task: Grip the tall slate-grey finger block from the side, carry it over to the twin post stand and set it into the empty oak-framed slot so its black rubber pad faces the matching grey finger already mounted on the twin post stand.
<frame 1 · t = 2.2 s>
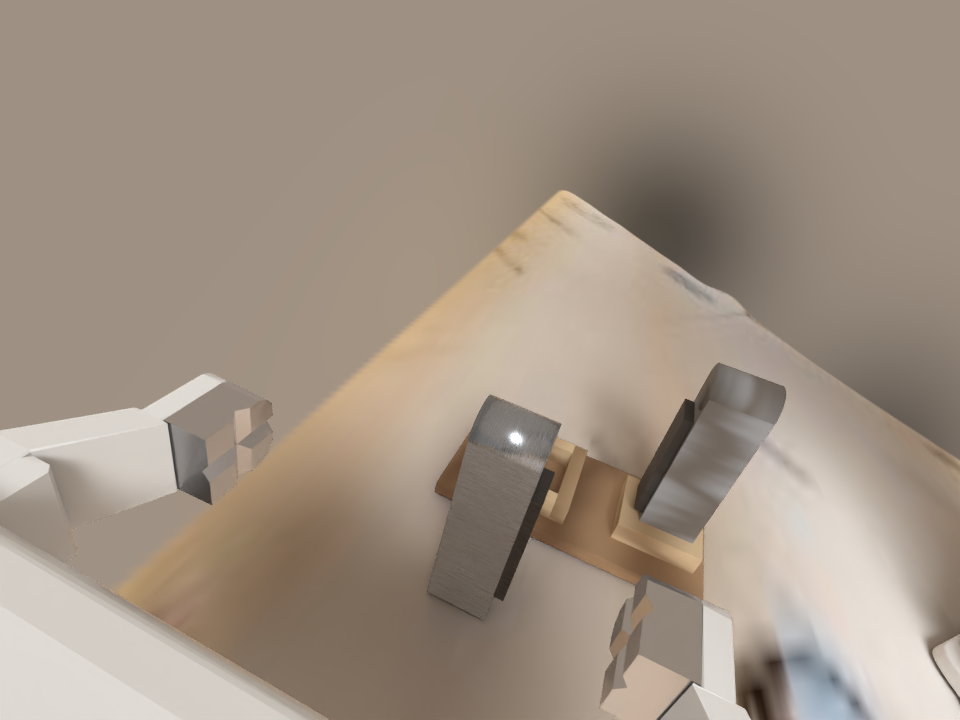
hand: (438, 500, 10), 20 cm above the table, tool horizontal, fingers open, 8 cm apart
twin post stand: (519, 479, 39), on the table
finger: (469, 587, 31), on the table
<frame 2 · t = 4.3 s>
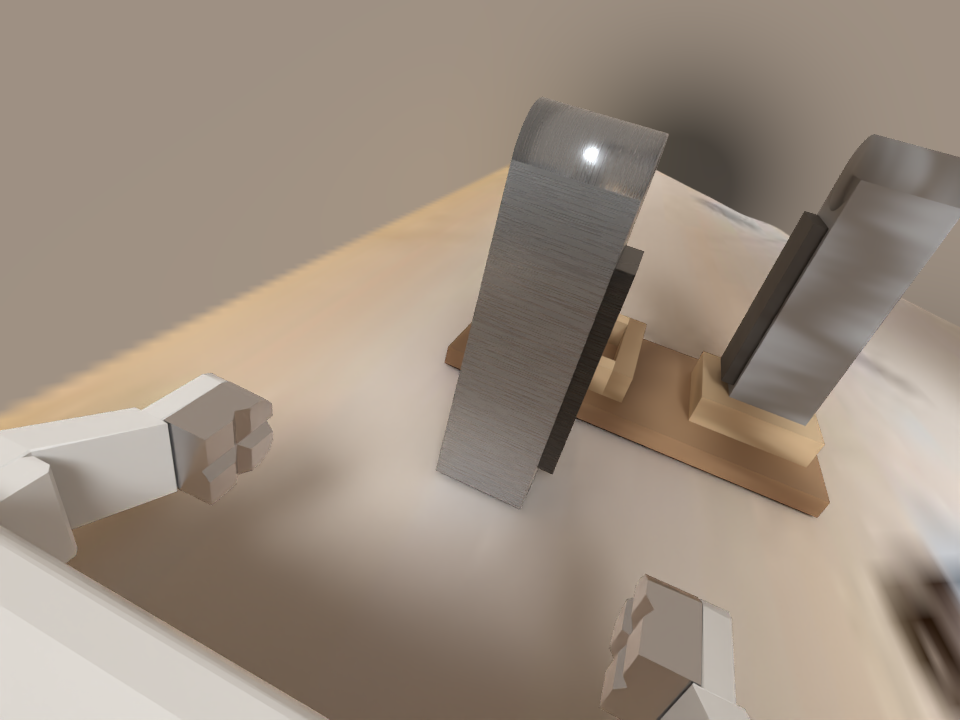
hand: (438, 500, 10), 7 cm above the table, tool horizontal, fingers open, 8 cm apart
twin post stand: (556, 359, 30), on the table
finger: (497, 468, 21), on the table
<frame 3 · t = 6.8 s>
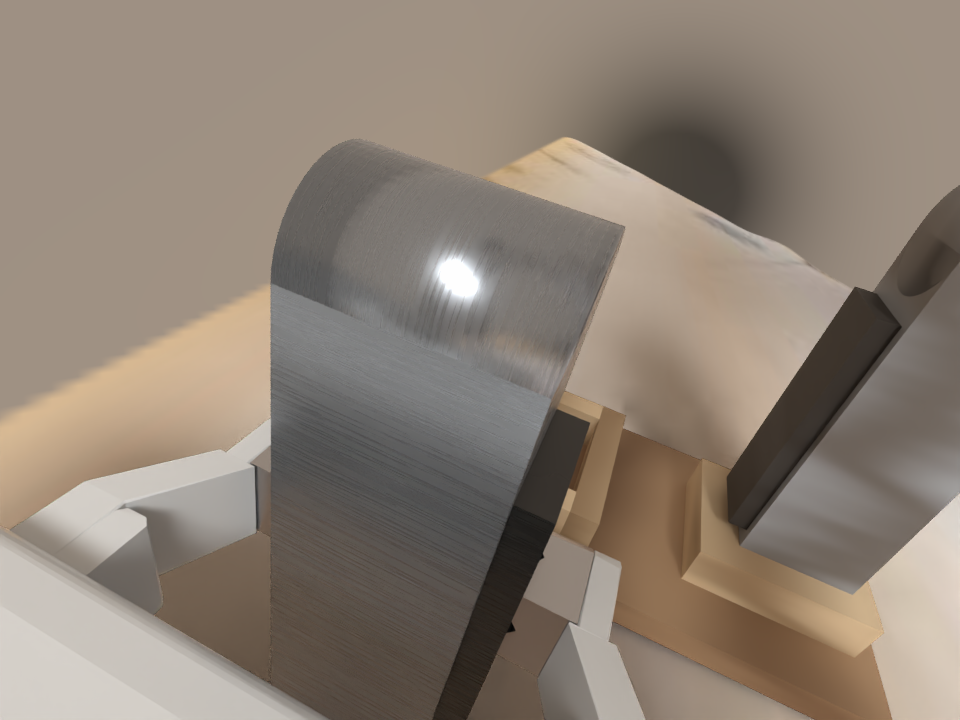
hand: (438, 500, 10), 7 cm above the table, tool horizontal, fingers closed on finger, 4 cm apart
twin post stand: (503, 467, 22), on the table
finger: (377, 704, 14), on the table, touching gripper
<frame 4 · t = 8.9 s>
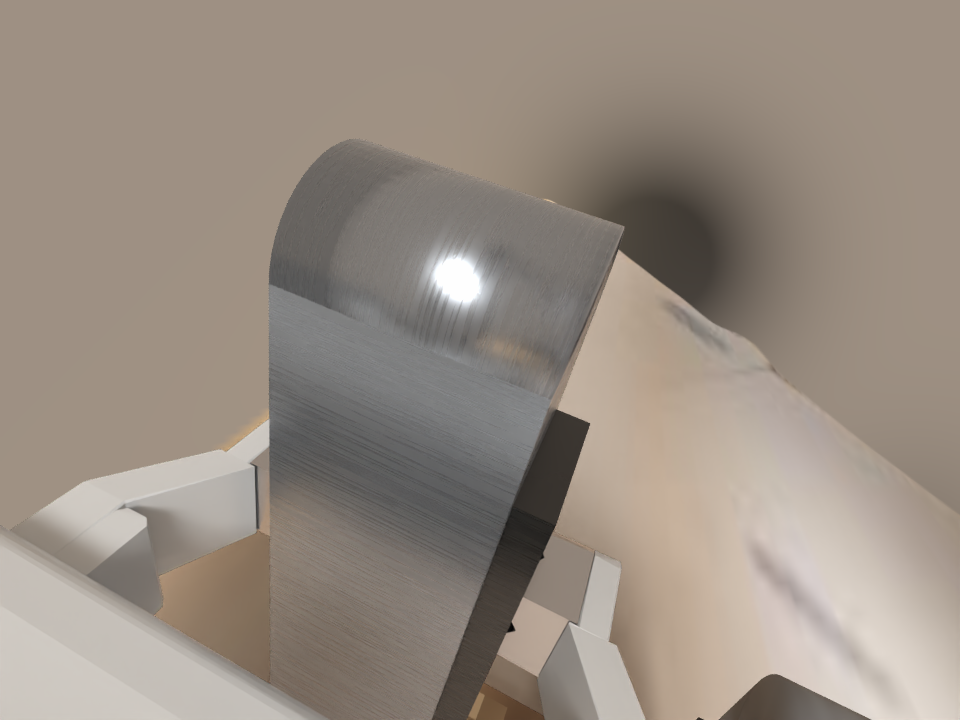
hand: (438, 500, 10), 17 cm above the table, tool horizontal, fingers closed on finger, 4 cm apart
finger: (377, 705, 14), point 10 cm above the table, touching gripper
when the fingers open (9 cm above the table, at t = 11.4 s): finger stays where it is, resting on twin post stand.
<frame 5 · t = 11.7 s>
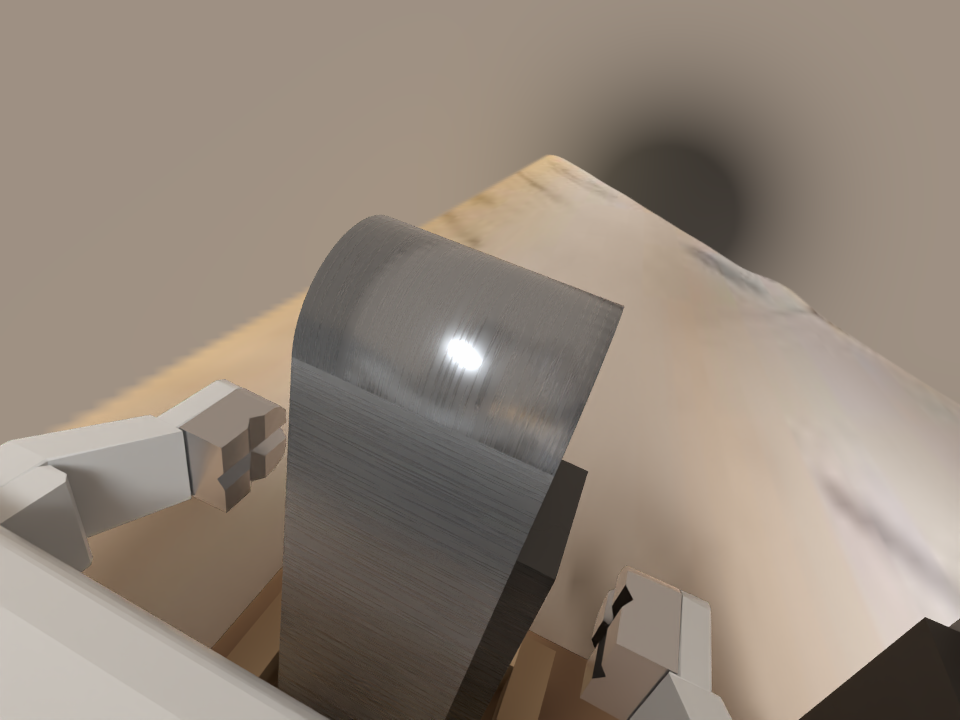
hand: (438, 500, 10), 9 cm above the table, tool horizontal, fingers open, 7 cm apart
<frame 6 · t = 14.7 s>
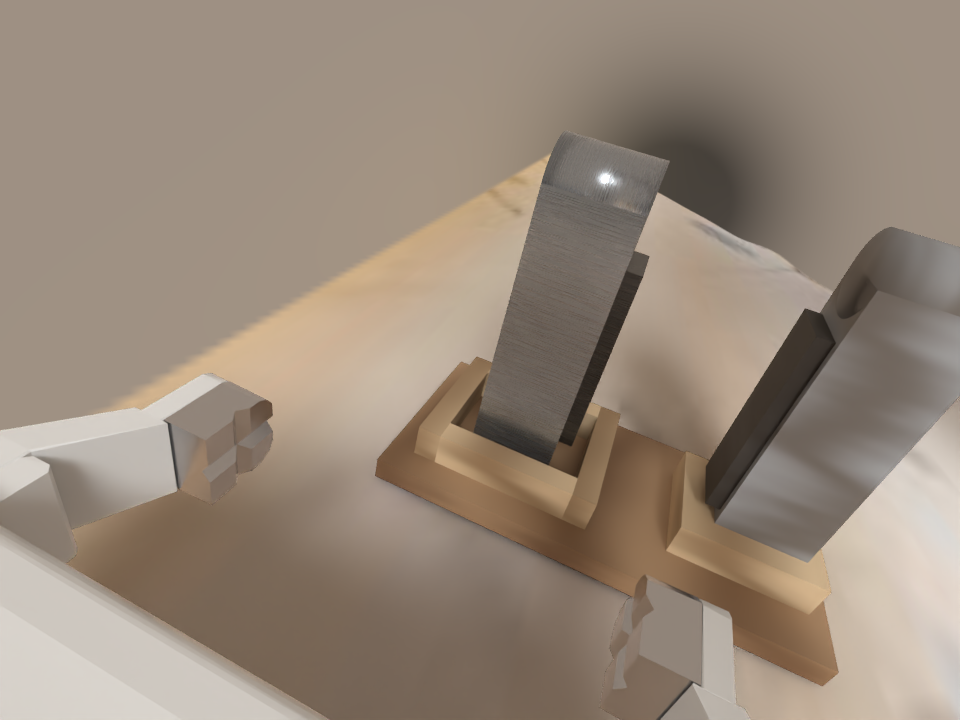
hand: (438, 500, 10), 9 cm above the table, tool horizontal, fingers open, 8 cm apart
twin post stand: (514, 459, 25), on the table
finger: (521, 444, 25), point 1 cm above the table, touching twin post stand
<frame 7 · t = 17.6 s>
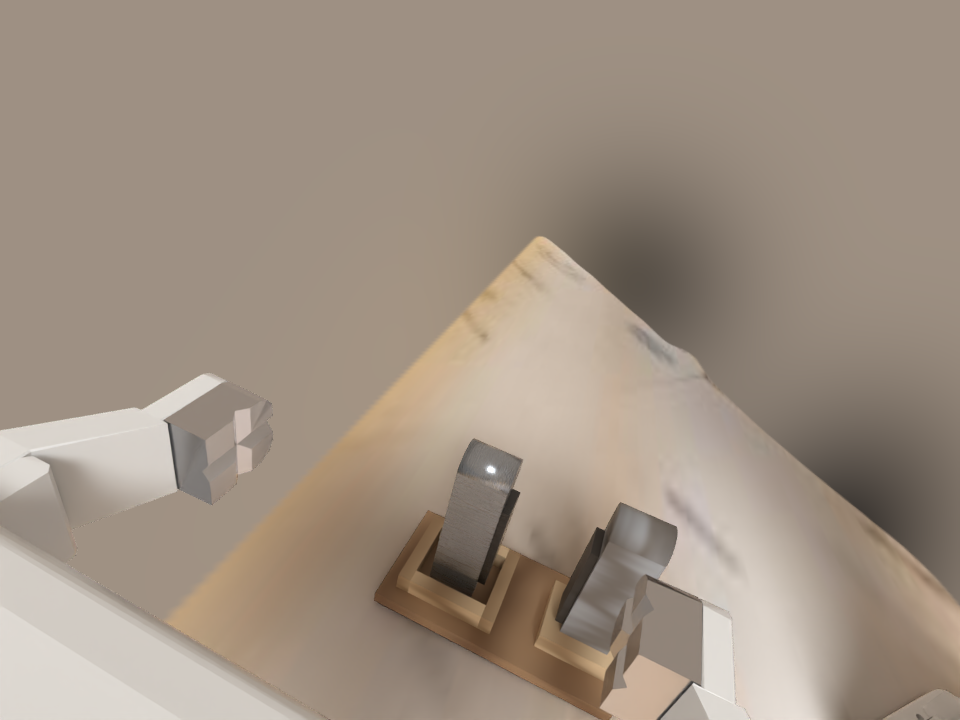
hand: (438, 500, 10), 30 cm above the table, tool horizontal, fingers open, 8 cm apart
twin post stand: (456, 582, 42), on the table
finger: (460, 575, 42), point 1 cm above the table, touching twin post stand
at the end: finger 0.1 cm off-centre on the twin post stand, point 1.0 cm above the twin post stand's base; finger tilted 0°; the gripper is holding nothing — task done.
